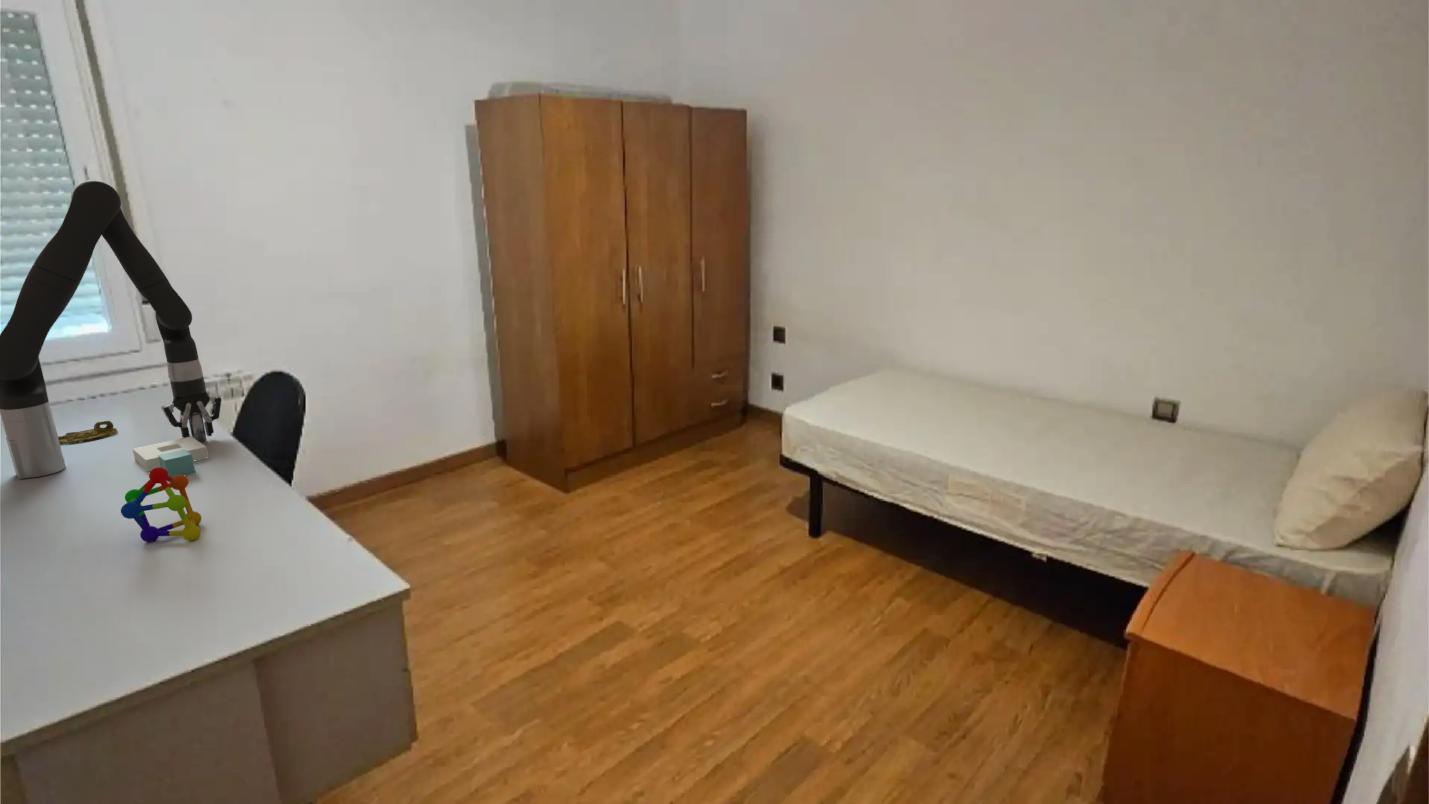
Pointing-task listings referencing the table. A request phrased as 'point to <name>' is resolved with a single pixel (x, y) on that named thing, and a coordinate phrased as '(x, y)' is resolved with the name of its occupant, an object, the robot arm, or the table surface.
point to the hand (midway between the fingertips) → (198, 437)
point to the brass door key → (89, 434)
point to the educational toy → (174, 503)
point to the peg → (197, 427)
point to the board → (168, 451)
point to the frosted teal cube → (177, 463)
